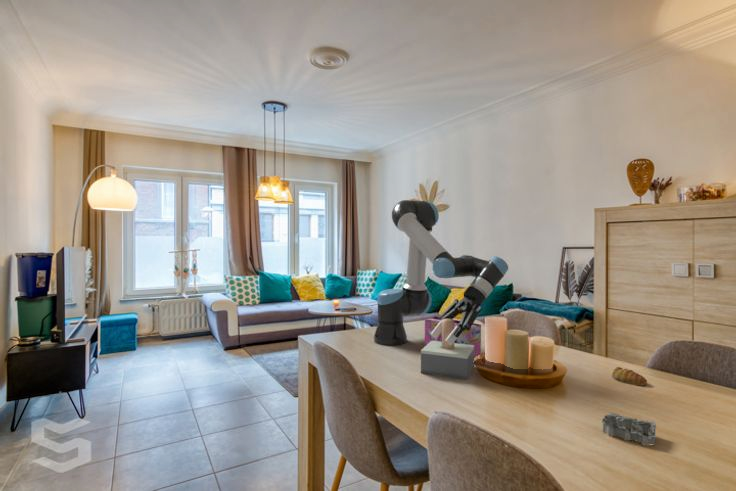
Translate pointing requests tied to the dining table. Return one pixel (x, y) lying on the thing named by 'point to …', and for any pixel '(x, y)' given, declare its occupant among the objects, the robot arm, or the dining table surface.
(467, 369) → the tub
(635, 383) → the pastry
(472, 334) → the gum box
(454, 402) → the dining table surface
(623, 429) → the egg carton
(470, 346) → the lid
